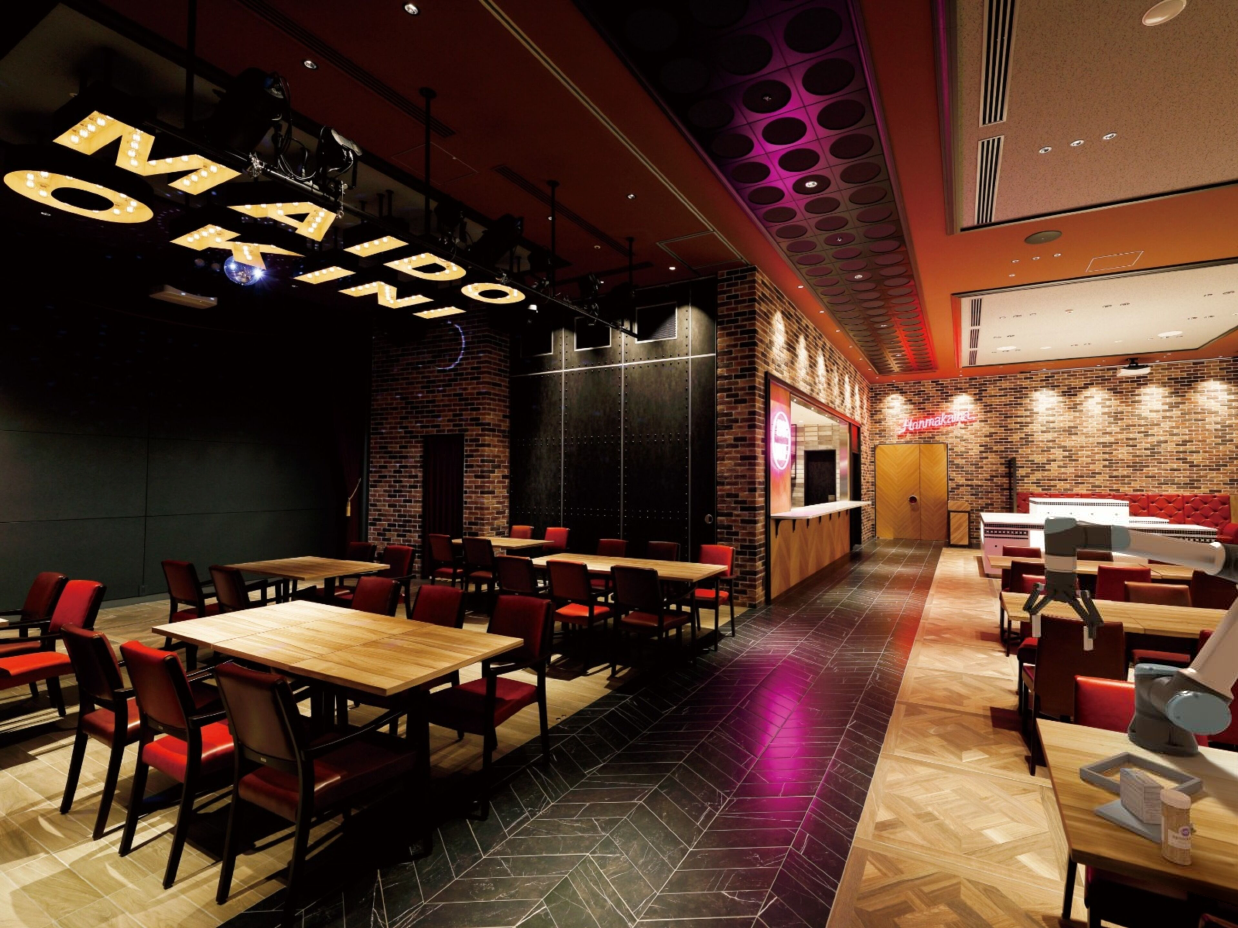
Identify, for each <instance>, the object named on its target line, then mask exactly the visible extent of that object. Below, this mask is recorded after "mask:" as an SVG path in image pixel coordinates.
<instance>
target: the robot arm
mask: <svg viewBox="0 0 1238 928" xmlns="http://www.w3.org/2000/svg"><path fill="white" fill-rule="evenodd" d="M1043 539H1044V540H1043V542H1044V568H1045V569H1044V583H1045V584H1044V583H1043V582H1041V581H1040V582H1035V583H1033V585H1032V586H1033V587H1032V590H1031V591H1030V594H1029V596H1028V597H1027V599H1026V601H1025V603H1024V605H1023V606H1022V611H1024V612H1026V613H1027V614H1029V615H1028V616H1029V625H1030V626H1032V627H1031V628H1032V630H1031V632H1032V635H1031V636H1032V638H1040V637H1041V636H1042V635H1041V634H1042V633H1041V632H1042V631H1041V630H1042V629H1041V628H1042V627H1041V615H1040V614H1039V613H1040V611H1042V610H1043V609H1044V608H1045V607H1046V606H1047V605H1049V604H1050V602H1052V601H1053V602H1060V603H1062V604H1067V605H1069V606H1070V607H1072V609H1073V610H1074V612H1076V614H1077V615H1078V616H1079V617H1080V619H1081V620H1082V621H1083V622H1084V623H1085V626H1083V650H1084V651H1091V650H1094V644H1093V643H1094V641H1093V640H1094V639H1096V638H1097V627H1103V626H1105V621H1104V620H1103V618H1102V616H1101V614H1100V612H1099V611H1098V608H1097V607H1096V605H1095V603H1094V601H1093V599H1092V595H1091V591H1090V590H1089V589H1086V590H1080V589H1078V588H1077V587H1078V586H1077V585H1078V572H1077V570H1078V559H1077V558H1078V554H1077V553H1078V551H1092V552H1093V551H1094V552H1111V553H1116V554H1117V553H1118V554H1122V555H1126V556H1132V557H1136V558H1137V557H1138V558H1142V559H1147V560H1151V561H1156V562H1157V561H1158V562H1162V563H1166V564H1173V565H1178V566H1181V567H1182V566H1183V567H1188V568H1193V569H1195V570H1196V569H1197V570H1202V571H1203V572H1204V573H1206V574H1207V575H1208V576H1209V575H1210V576H1214V577H1219V578H1222V579H1225V580H1229V581H1232V582H1235V583H1236V585H1235V587H1236V589H1237V590H1238V544H1231V543H1230V544H1228V543H1223V542H1217V541H1213V542H1210V543H1209V544H1208V543H1203V542H1198V541H1193V540H1187V539H1182V538H1177V537H1176V538H1175V537H1171V536H1165V535H1160V534H1159V535H1158V534H1156V533H1154V534H1153V533H1150V532H1145V531H1139V530H1133V529H1128V528H1127V527H1126V526H1125V525H1117V524H1101V523H1094V522H1090V521H1086V520H1080V519H1078V520H1077V519H1076V518H1075V517H1070V516H1067V517H1066V516H1048V517H1046V518H1045V520H1044V527H1043ZM1042 591H1045V593H1046V594H1045V595H1044V596H1043V597H1042V599H1040V600H1039V601H1038V598H1039V597H1040V595H1041V594H1042ZM1077 596H1078V597H1079V598H1080V599H1081V601H1082V603H1083V605H1084V606H1083V605H1082V604H1081V601H1080V600H1079V599H1078V597H1077ZM1037 601H1038V602H1037ZM1036 602H1037V603H1036ZM1084 607H1085V608H1084ZM1133 677H1134V679H1133V680H1134V681H1133V682H1134V714H1133V716H1132V719H1131V721H1130V723H1129V725H1128V728H1127V738H1128V737H1129V738H1128V739H1129V741H1131V742H1132V743H1134V744H1136V745H1137V746H1140V747H1142V748H1145V749H1147V750H1151V751H1153V752H1157V753H1161V754H1166V755H1168V756H1169V755H1170V756H1175V757H1184V758H1185V757H1188V758H1189V757H1196V756H1198V754H1199V744H1198V742H1197V740H1196V736H1195V735H1198V736H1199V735H1200V736H1210V735H1212V736H1213V735H1216V734H1219V733H1222V732H1223V731H1225V730H1226V729H1227V728H1228V727H1229V726H1230V724H1231V723H1232V714H1231V709H1230V707H1229V706H1230V704H1232V702H1233V700H1234V699H1235V697H1234V695H1233V693H1232V691H1231V688H1232V687H1233V686H1234V684H1235V683H1236V682H1237V679H1238V596H1237V597H1236V599H1235V600H1234V601H1233V603H1232V604H1231V606H1230V607H1229V609H1228V610H1227V612H1226V613H1225V615H1224V616H1223V617H1222V619H1221V621H1219V623H1218V625H1217V626H1216V627H1215V629H1214V631H1213V632H1212V633H1211V634H1210V636H1209V638H1208V639H1207V640H1206V642H1205V643H1204V645H1203V647H1202V648H1201V649H1200V651H1199V652H1198V654H1197V655H1196V657H1195V658H1194V660H1193V661H1192V662H1191V663H1190V665H1189V666H1188V667H1187V668H1180V667H1176V666H1172V665H1171V666H1170V665H1163V664H1156V663H1138V664H1135V667H1134V673H1133ZM1194 734H1195V735H1194Z"/></svg>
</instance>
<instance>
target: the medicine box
mask: <svg viewBox="0 0 1238 928" xmlns="http://www.w3.org/2000/svg"><path fill="white" fill-rule="evenodd" d="M1119 780H1120V781H1119V782H1120V794H1119V795H1120V798H1121V804H1122V805H1123V806H1124V807H1125V808H1127V809H1128V810H1129V811H1130V812H1132V813H1133V814H1134V815H1135V816H1136V817H1138V818H1139V819H1140V820H1141V821H1143V822H1144V823H1148V824H1159V825H1161V808H1162V805H1161V799H1160V791H1161V790H1162V789H1165V786H1164V785H1162V784H1161V783H1160V782H1158V781H1157V780H1155V779H1154V778H1153V777H1151V776H1149V775H1148V774H1147V773H1145V772H1144V771H1142V770H1141V769H1137V768H1136V769H1134V768H1119Z"/></svg>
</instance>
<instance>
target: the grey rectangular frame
mask: <svg viewBox="0 0 1238 928" xmlns="http://www.w3.org/2000/svg"><path fill="white" fill-rule="evenodd" d="M1126 763H1127V764H1130V765H1133V766H1136V767H1139V768H1141V769H1143V770H1146V771H1149V770H1150V771H1149V772H1151V771H1152V773H1154V774H1157V775H1159V774H1160V775H1159V776H1162V777H1165V778H1167V777H1168V779H1171V780H1173V781H1175V782H1178V783H1180V784H1179V785H1176V786H1174V787H1172V788H1170V789H1172V790H1176V791H1179V792H1181V793H1184V794H1186V795H1187V796H1188V797H1190V796H1191V795H1193V794H1196V793H1198V792H1200V791H1202V790H1204V786H1203V785H1204V780H1203V779H1202V778H1200V777H1198V776H1197V777H1196V776H1194V775H1191V774H1188V773H1186V772H1183V771H1181V770H1178V769H1175V768H1172V767H1170V766H1166V765H1165V764H1161V763H1159V762H1155V761H1153V760H1150V759H1148V758H1145V757H1142V756H1141V755H1140V756H1139V755H1137V754H1134V753H1131V752H1129V751H1123V752H1121V753H1117V754H1114V755H1112V756H1109V757H1106V758H1104V759H1101V760H1097V761H1095V762H1092V763H1089V764H1086V765H1083V766H1081V767H1079V771H1078V772H1079V778H1081V779H1083V780H1085V781H1088V782H1090V783H1091V784H1092V783H1093V784H1094V785H1096V786H1099V787H1101V788H1103V789H1106V790H1108V789H1109V790H1108V791H1110V792H1113V791H1114V792H1113V793H1115V792H1116V794H1118V795H1120V781H1116V780H1115V779H1113V778H1110V777H1107V776H1105V775H1102V774H1101V773H1104V771H1105V772H1107V770H1108V771H1110V770H1112V768H1113V769H1115V768H1114V767H1116V768H1118V766H1119V767H1121V766H1124V765H1127V764H1126ZM1109 769H1110V770H1109Z"/></svg>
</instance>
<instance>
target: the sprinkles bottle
mask: <svg viewBox="0 0 1238 928" xmlns="http://www.w3.org/2000/svg"><path fill="white" fill-rule="evenodd" d="M1160 799H1161V805H1162V808H1161V838H1162V843H1161V855H1162V857H1164V858H1165V859H1166V860H1168V861H1170V862H1172V863H1174V864H1178V865H1180V866H1181V865H1182V866H1190V865H1191V864H1192V860H1191V858H1192V857H1191V849H1192V844H1191V843H1192V841H1191V840H1192V839H1191V836H1192V835H1191V834H1192V833H1191V829H1190V821H1191V819H1190V818H1191V815H1190V810H1191V807H1192V804H1191V803H1192V801H1191V798H1190V796H1187V795H1186V794H1184V793H1181V792H1179V791H1176V790H1172V789H1171V788H1164V789H1162V790H1161V791H1160Z"/></svg>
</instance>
